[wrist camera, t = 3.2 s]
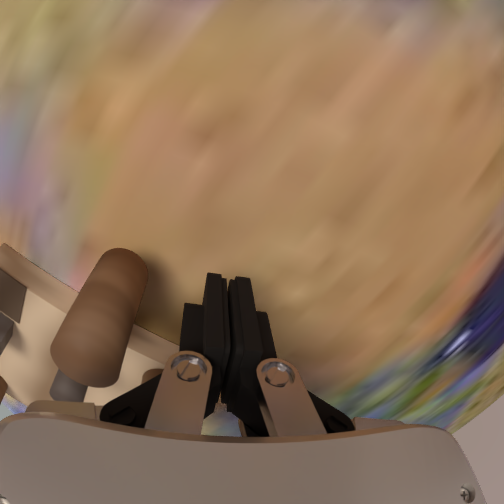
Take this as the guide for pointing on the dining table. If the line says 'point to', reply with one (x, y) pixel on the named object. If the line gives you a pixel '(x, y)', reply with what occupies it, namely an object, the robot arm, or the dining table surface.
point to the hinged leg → (98, 326)
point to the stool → (45, 329)
